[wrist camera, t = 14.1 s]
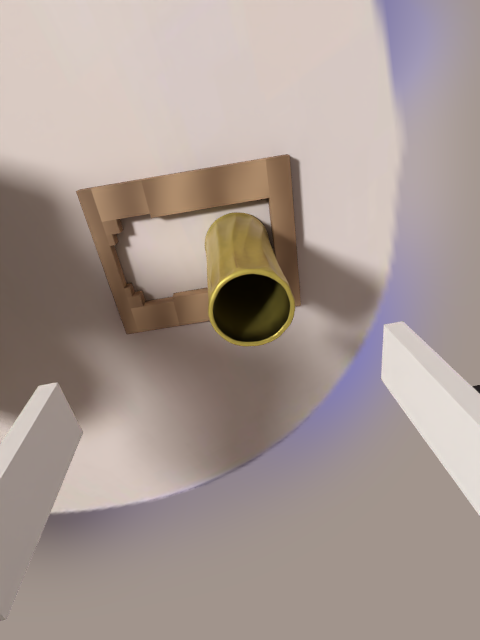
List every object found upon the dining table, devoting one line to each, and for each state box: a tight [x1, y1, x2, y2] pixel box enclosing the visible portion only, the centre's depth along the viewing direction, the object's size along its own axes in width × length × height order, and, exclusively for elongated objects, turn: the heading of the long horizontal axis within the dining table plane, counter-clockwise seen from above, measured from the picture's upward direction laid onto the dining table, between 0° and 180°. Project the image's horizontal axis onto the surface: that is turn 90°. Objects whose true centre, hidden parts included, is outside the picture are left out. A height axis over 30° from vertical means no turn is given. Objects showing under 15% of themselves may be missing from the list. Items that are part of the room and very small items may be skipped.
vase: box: [205, 213, 295, 346], centre depth 27 cm, size 6×6×14 cm
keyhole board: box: [76, 154, 301, 334], centre depth 33 cm, size 18×14×1 cm
